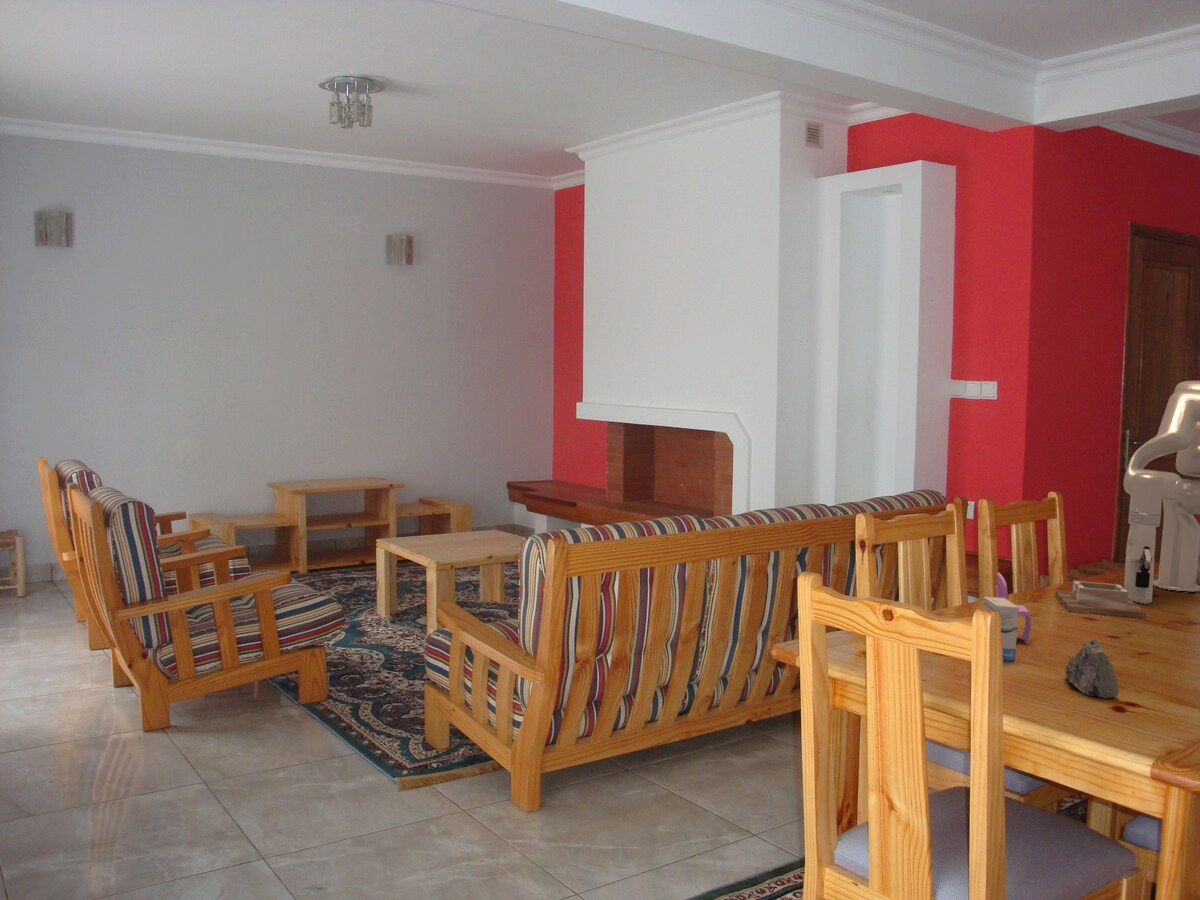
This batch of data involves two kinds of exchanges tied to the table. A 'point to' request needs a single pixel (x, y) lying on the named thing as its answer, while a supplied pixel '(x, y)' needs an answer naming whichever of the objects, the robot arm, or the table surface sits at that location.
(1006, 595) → the toy chair
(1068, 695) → the table surface
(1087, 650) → the mineral rock
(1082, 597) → the collar plate
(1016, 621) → the ink box
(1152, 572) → the skincare box
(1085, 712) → the table surface
